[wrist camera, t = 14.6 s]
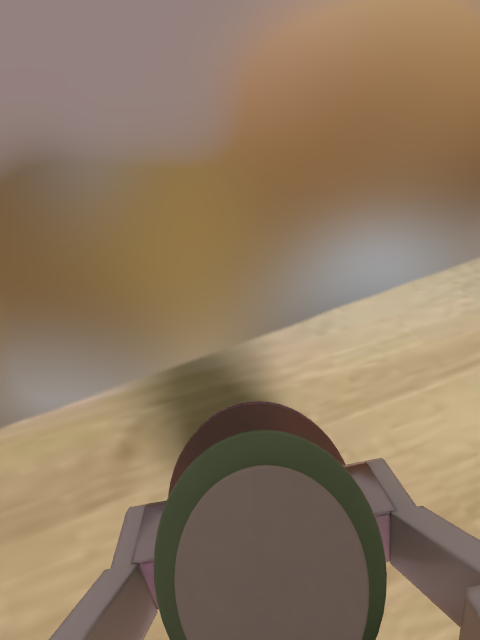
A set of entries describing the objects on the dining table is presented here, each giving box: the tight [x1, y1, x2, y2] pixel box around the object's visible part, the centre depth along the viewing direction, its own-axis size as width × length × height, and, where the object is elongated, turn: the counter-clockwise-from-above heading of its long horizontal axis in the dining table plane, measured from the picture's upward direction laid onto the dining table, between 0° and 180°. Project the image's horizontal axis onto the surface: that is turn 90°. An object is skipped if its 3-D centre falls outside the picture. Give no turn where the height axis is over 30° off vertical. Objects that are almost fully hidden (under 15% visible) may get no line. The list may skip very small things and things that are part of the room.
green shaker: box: [154, 430, 387, 640], centre depth 9 cm, size 4×4×10 cm
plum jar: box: [168, 401, 345, 497], centre depth 21 cm, size 10×10×14 cm
